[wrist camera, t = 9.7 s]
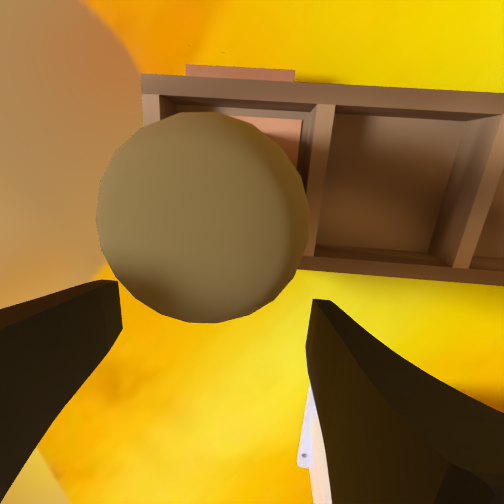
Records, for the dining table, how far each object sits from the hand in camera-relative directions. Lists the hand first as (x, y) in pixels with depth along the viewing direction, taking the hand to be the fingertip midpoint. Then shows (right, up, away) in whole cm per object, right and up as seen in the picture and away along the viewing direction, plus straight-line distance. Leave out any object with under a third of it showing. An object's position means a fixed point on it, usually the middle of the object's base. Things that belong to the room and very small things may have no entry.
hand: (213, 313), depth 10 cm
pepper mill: (+1, +6, +6) cm, 9 cm away
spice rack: (+9, +6, +6) cm, 12 cm away
